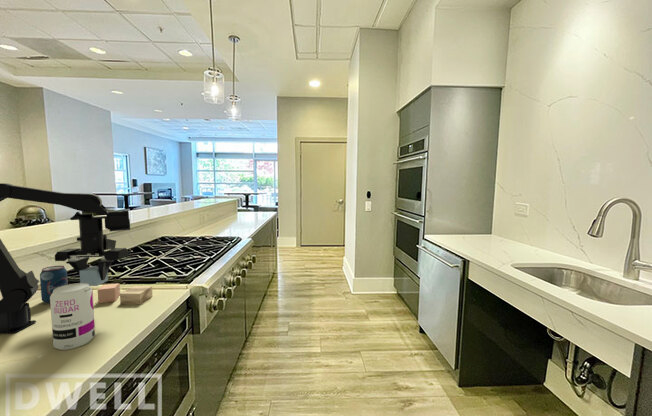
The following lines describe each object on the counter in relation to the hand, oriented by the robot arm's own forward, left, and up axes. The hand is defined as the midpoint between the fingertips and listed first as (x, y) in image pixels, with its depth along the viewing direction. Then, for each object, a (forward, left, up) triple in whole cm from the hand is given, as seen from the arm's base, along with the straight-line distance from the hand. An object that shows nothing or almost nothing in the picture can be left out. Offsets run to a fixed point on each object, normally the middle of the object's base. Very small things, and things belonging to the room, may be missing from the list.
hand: (94, 280), depth 90 cm
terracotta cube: (+10, +3, -11) cm, 15 cm away
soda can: (+11, +21, -11) cm, 26 cm away
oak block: (+9, -7, -11) cm, 16 cm away
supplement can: (-18, -7, -11) cm, 22 cm away
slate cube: (0, 0, -1) cm, 1 cm away
